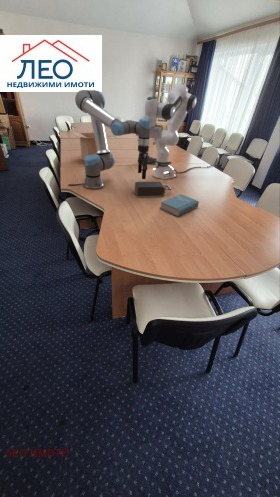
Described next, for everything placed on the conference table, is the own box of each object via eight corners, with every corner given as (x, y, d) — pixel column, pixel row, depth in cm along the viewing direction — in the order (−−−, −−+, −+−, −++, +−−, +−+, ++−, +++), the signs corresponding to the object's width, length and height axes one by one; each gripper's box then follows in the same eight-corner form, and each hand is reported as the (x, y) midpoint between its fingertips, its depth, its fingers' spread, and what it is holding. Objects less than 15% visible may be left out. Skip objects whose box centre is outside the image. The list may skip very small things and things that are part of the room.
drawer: (167, 190, 181) (168, 182, 177) (171, 194, 173) (172, 187, 170) (138, 190, 176) (139, 183, 172) (141, 195, 168) (141, 188, 165)
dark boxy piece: (158, 191, 181) (159, 181, 176) (162, 196, 172) (164, 186, 167) (134, 191, 176) (135, 181, 172) (137, 197, 168) (138, 187, 163)
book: (179, 200, 168) (180, 193, 165) (197, 207, 159) (199, 201, 156) (160, 208, 154) (160, 201, 152) (178, 217, 146) (179, 210, 143)
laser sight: (157, 165, 238) (158, 155, 232) (137, 163, 241) (138, 153, 235) (159, 163, 245) (160, 153, 239) (139, 160, 248) (139, 151, 242)
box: (116, 165, 229) (116, 136, 213) (83, 168, 214) (80, 137, 198) (102, 154, 259) (101, 128, 243) (71, 156, 244) (68, 129, 228)
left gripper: (134, 141, 161) (133, 170, 173) (142, 149, 141) (140, 181, 154) (144, 141, 162) (142, 170, 175) (153, 149, 143) (150, 181, 155)
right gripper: (164, 124, 162) (162, 144, 170) (138, 121, 166) (136, 141, 174) (162, 125, 157) (160, 146, 165) (135, 122, 161) (134, 142, 169)
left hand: (141, 175), depth 164 cm, fingers open, 13 cm apart
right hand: (148, 143), depth 170 cm, fingers open, 8 cm apart
